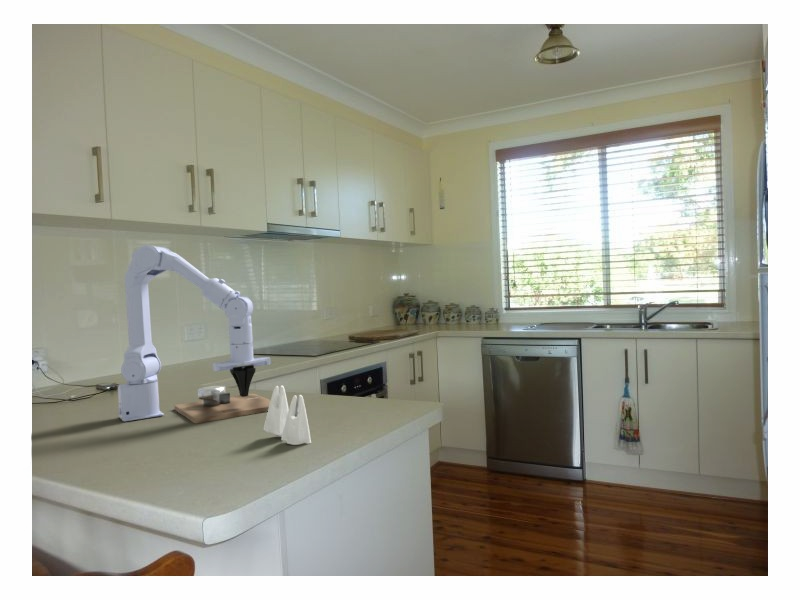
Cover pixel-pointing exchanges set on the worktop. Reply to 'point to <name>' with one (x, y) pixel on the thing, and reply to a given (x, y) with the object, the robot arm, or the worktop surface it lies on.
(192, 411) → the post board
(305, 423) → the white slotted stand
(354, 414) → the worktop surface
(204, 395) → the grey lever with knob
